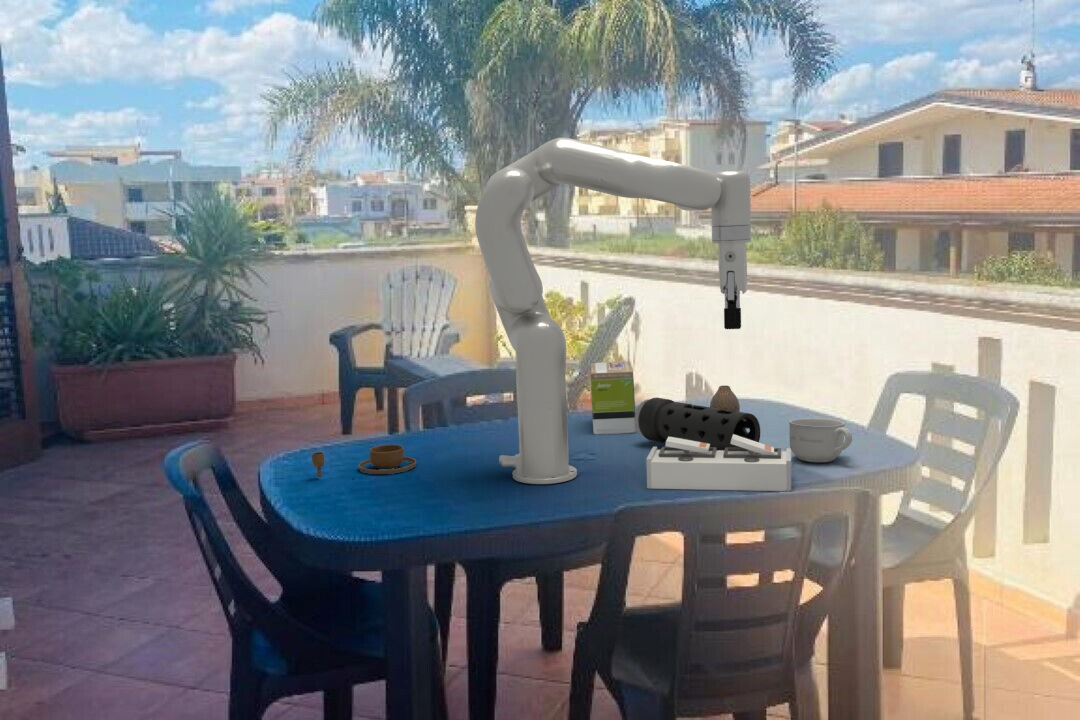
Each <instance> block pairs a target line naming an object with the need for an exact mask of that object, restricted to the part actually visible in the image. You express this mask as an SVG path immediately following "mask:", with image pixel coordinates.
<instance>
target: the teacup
mask: <svg viewBox="0 0 1080 720" xmlns="http://www.w3.org/2000/svg"><path fill="white" fill-rule="evenodd" d="M788 424H789V448H791V453H792V454H794V455H795V456H796V457H797V458H798V459H799V460H800V461H804V462H808V463H830V462H832V461H834V460H835V459H836V458H837V457H839V456H840V455H841V454H842V452H843V451H845V450H846V449H847V448H849V446H851V444H852V442H853V435H852V432H851V431H850V429H849V428H847V427H845V426H846V423H845V422H844V421H842V420H838V419H834V418H823V417H822V418H821V417H803V418H802V417H801V418H800V417H798V418H794V419H790V420H789V421H788ZM844 439H845V440H844Z"/></svg>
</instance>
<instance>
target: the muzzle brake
mask: <svg viewBox="0 0 1080 720" xmlns="http://www.w3.org/2000/svg"><path fill="white" fill-rule="evenodd" d="M634 421H635V429H636V431H637V432H638V434H640V435H641V436H643V437H644V438H645V439H646V440H648V441H651V442H657V443H660V444H661V443H662V444H663V443H665V444H666V440H667V438H668V436H669V437H675V438H680V439H686V440H691V441H697V442H702V443H708V444H710V447H717V450H723V451H724V450H725V447H730V448H742V447H739V446H736V445H733V444H730V443H731V439H732V436H733V434H734V435H737V436H740V437H743V438H747V439H750V440H753V441H756V442H759V443H760V441H761V425H760V422H759V420H758V418H757V417H756V416H755V415H754V414H753V413H749V412H742V411H740V412H736V411H730V410H724V409H718V408H712V407H710V406H703V405H697V404H692V403H686V402H679V401H675V400H672V399H669V398H663V397H662V398H661V397H652V398H649V399H645V400H643V401H641V402H640V404H639V405H638V406H637V408H636V409H635V420H634ZM748 429H749V432H748V431H747V430H748Z"/></svg>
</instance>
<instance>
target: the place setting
mask: <svg viewBox="0 0 1080 720" xmlns="http://www.w3.org/2000/svg"><path fill="white" fill-rule="evenodd" d="M404 452H405V451H404V446H402V445H400V444H382V445H376V446H373V447H371V448H370V449H369V459H366V460H363V461H361V462H359V463H358V465H357V466H358V470H359V472H361V471H362V472H365V473H372V474H389V473H397V472H402V471H407V470H410V469H412V468H414V467H415V468H416V466H417V459H416V458H413V457H410V456H405V454H404ZM403 461H408V462H411V463H413V464H408V465H406V466H402V467H399V468H398V466H400V465H401V464H403V463H402V462H403ZM311 462H312V465H313V466H314V468H316V471H317V472H316V477H317V478H318V477H321V478H322V476H323V473H322V467H323V466H324V465H325V453H324V451H323V452H322V451H318V452H317V451H316V452H313V453H311ZM369 463H372V464H373V465H372V466H374V467H375V468H376V469H369V468H366V467H365V468H362V466H364V465H366V464H369ZM396 467H397V468H396ZM378 468H379V469H389V470H379V469H378ZM392 468H396V469H392ZM415 468H414V469H415ZM412 470H413V469H412ZM410 471H411V470H410ZM362 472H361V473H362ZM407 472H408V471H407Z"/></svg>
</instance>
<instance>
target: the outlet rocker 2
mask: <svg viewBox="0 0 1080 720" xmlns="http://www.w3.org/2000/svg"><path fill="white" fill-rule="evenodd" d="M730 444H733V445H736V446H739V447H742V448H745V449H748V453H749V454H753V453H754V452H757V453H760V454H763V455H773V454H774V448H775V446H770V445H768V444H764V443H761V442H760V441H759V442H756V441H753V440H750V439H747V438H743V437H740V436H737V435H734V434H733V436H732V439H731V443H730Z"/></svg>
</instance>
